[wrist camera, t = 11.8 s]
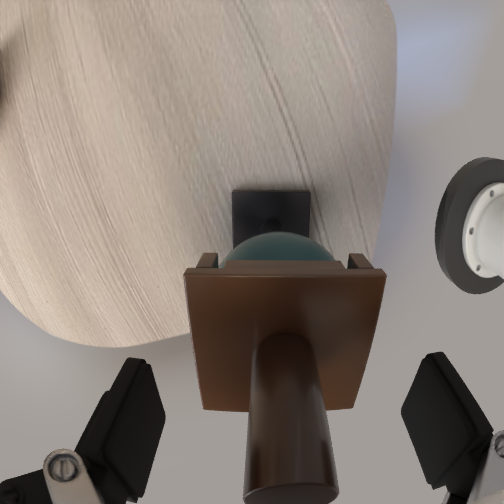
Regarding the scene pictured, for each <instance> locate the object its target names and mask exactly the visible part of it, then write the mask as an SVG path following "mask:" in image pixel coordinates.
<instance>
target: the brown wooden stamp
mask: <svg viewBox="0 0 504 504" xmlns="http://www.w3.org/2000/svg"><path fill="white" fill-rule="evenodd" d="M183 277H184V286H185V294H186V303H187V310H188V318H189V326H190V333H191V340H192V345H193V353H194V359H195V366H196V372H197V377H198V383H199V389H200V394H201V400H202V405H203V409H204V410H215V411H232V412H249V416H248V431H247V447H246V462H245V476H244V490H243V501H244V503H245V504H329V503H330V502H332V501H333V500H335V499H336V498H337V496H338V494H339V486H338V480H337V473H336V467H335V461H334V455H333V448H332V442H331V437H330V431H329V425H328V419H327V415H326V411H327V410H340V409H350V408H353V406H354V403H355V400H356V397H357V394H358V391H359V387H360V384H361V381H362V377H363V374H364V371H365V367H366V364H367V360H368V357H369V353H370V349H371V345H372V341H373V337H374V333H375V329H376V325H377V321H378V316H379V311H380V307H381V302H382V297H383V292H384V286H385V282H386V277H387V276H386V273H385V272H384V271H383V270H382V269H374V268H373V266H372V265H371V264H370V263H369V261H368V260H367V259H366V258H365V256H364V255H363V254H354V253H350V254H349V259H348V267H347V269H345V267H344V266H343V264H342V262H341V261H292V260H226V262H225V265H224V268H218V254H217V253H203V255H202V257H201V258H200V260H199V262H198V264H197V266H196V268H187V269H186V271H185V273H184V275H183Z"/></svg>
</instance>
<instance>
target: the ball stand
mask: <svg viewBox="0 0 504 504" xmlns="http://www.w3.org/2000/svg"><path fill="white" fill-rule="evenodd" d="M310 197H311V193H310V191H307V190H233V191H232V223H233V250H232V251H231V252H230V253H229V254H228V255H227V256H226V257H225V258H224V260H223V261H222V263H221V264H220V266H219V268H224V265H225V262H226V260H292V261H336V260H335V259H334V258H333V256H332V255H331V254H330V253H329V252H328V251H327V250H326V249H325V248H324V247H323V246H321V245H320V244H318V243H317V242H315V241H313V240H311V239H309V222H310Z"/></svg>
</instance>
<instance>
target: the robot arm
mask: <svg viewBox="0 0 504 504" xmlns="http://www.w3.org/2000/svg"><path fill="white" fill-rule="evenodd" d="M462 248H463V254H464V258H465V260H466V263H467V265H468V266H469V268H470V269H471V270H472V271H473V272H475V273H476V274H477V275H479V276H481V277H485V278H491V277H494V276H497V275H499V276H500V277H501V278H503V279H504V183H501V182H496V183H492V184H489V185H487V186H486V187H485V188H483V189H482V190H481V191H480V192H479V193H478V195H477V196H476V197H475V199H474V200H473V202H472V204H471V206H470V208H469V210H468V212H467V216H466V219H465V222H464V227H463V235H462ZM401 415H402V418H403V420H404V423H405V425H406V428H407V430H408V433H409V436H410V438H411V441H412V443H413V446H414V448H415V451H416V454H417V456H418V459H419V462H420V464H421V467H422V470H423V473H424V475H425V478H426V481H427V483H428V484H431V486H432V488H433V490H434V489H437V488H440V487H442V486H445V485H446V487H447V493H446V495H445V498H444V500H443V502H442V504H504V430H503V431H499V432H497V433H496V434H495V435H493V434H492V432H493V431H494V430H493V428H492V426H491V425H490V423H489V421H488V420H487V418H486V416H485V415H484V413H483V411H482V410H481V408H480V406H479V405H478V403H477V402H476V400H475V398H474V397H473V395H472V394H471V392H470V391H469V389H468V388H467V386H466V385H465V383H464V382H463V380H462V379H461V377H460V376H459V374H458V373H457V371H456V370H455V368H454V367H453V365H452V364H451V363H450V361H449V360H448V358H447V357H446V355H445V354H444V353H443V352H436V353H430V354H427V355H426V357H425V358H424V359H422V361H421V364H420V366H419V369H418V371H417V374H416V376H415V379H414V381H413V383H412V386H411V388H410V390H409V392H408V395H407V397H406V399H405V401H404V403H403V406H402V408H401ZM164 424H165V411H164V408H163V405H162V402H161V399H160V396H159V392H158V389H157V386H156V382H155V378H154V375H153V372H152V368H151V365H150V364H147V363H146V361H145V360H144V359H138V358H127V359H126V361H125V363H124V364H123V366H122V368H121V370H120V372H119V374H118V376H117V377H116V379H115V381H114V383H113V385H112V387H111V389H110V390H109V391H106V392H105V393H104V394H103V396H102V397H101V399H100V401H99V403H98V405H97V407H96V409H95V411H94V413H93V414H92V416H91V418H90V421H89V422H88V424H87V426H86V428H85V430H84V432H83V434H82V436H81V438H80V440H79V442H78V444H77V446H76V448H75V450H74V451H72V450H69V449H58V450H56V451H53V452H51V453H50V454H49V455H48V456H47V457H46V459H45V460H44V464H43V469H41V470H37V471H35V472H31V473H28V474H25V475H21V476H18V477H14V478H11V479H7V480H5V481H3V482H1V483H0V504H126V501H130V502H134V503H137V500H138V497H140V498H142V497H143V495H144V492H145V489H146V485H147V482H148V478H149V475H150V471H151V468H152V464H153V461H154V457H155V454H156V451H157V447H158V444H159V440H160V437H161V434H162V430H163V427H164Z"/></svg>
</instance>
